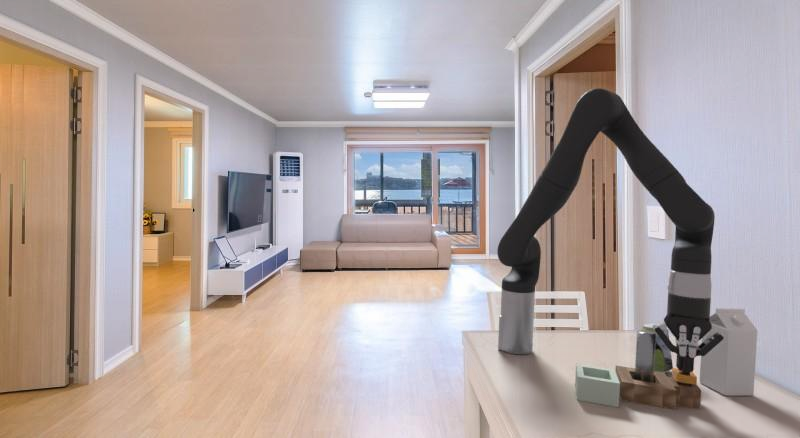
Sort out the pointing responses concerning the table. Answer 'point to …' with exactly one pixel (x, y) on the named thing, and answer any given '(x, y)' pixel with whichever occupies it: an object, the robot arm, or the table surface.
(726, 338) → the milk carton
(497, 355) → the table surface
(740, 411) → the table surface
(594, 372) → the rack
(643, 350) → the peg
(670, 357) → the beverage can
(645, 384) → the socket block
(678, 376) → the orange square-headed peg
